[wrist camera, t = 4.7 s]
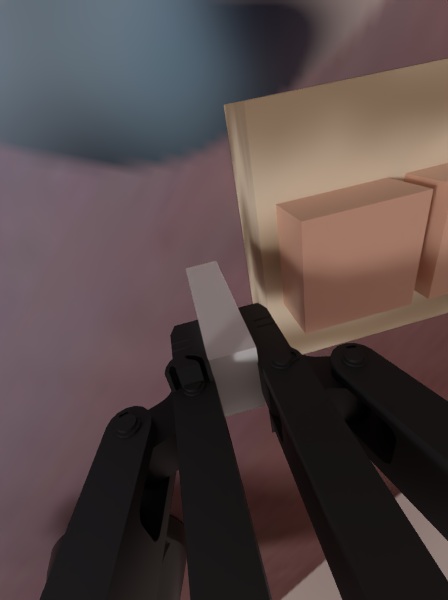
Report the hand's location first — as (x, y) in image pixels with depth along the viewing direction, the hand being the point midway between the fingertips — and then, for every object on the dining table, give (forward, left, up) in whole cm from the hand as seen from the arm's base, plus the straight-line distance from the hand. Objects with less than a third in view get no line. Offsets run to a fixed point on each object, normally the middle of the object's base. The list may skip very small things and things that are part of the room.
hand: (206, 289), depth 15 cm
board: (0, -11, -5) cm, 12 cm away
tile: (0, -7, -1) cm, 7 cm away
